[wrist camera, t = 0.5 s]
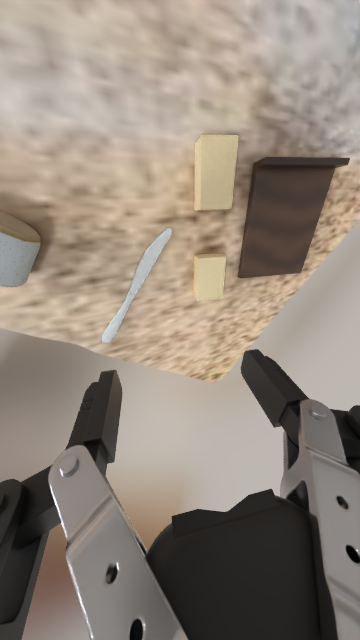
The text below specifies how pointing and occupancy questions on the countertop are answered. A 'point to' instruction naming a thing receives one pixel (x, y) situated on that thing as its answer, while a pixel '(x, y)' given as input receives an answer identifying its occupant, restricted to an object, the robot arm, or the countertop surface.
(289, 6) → the countertop surface
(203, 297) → the pad
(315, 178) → the board
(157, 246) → the butter knife
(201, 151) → the beige rectangular block
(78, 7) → the countertop surface
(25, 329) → the countertop surface
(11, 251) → the ceramic mug
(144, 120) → the countertop surface
